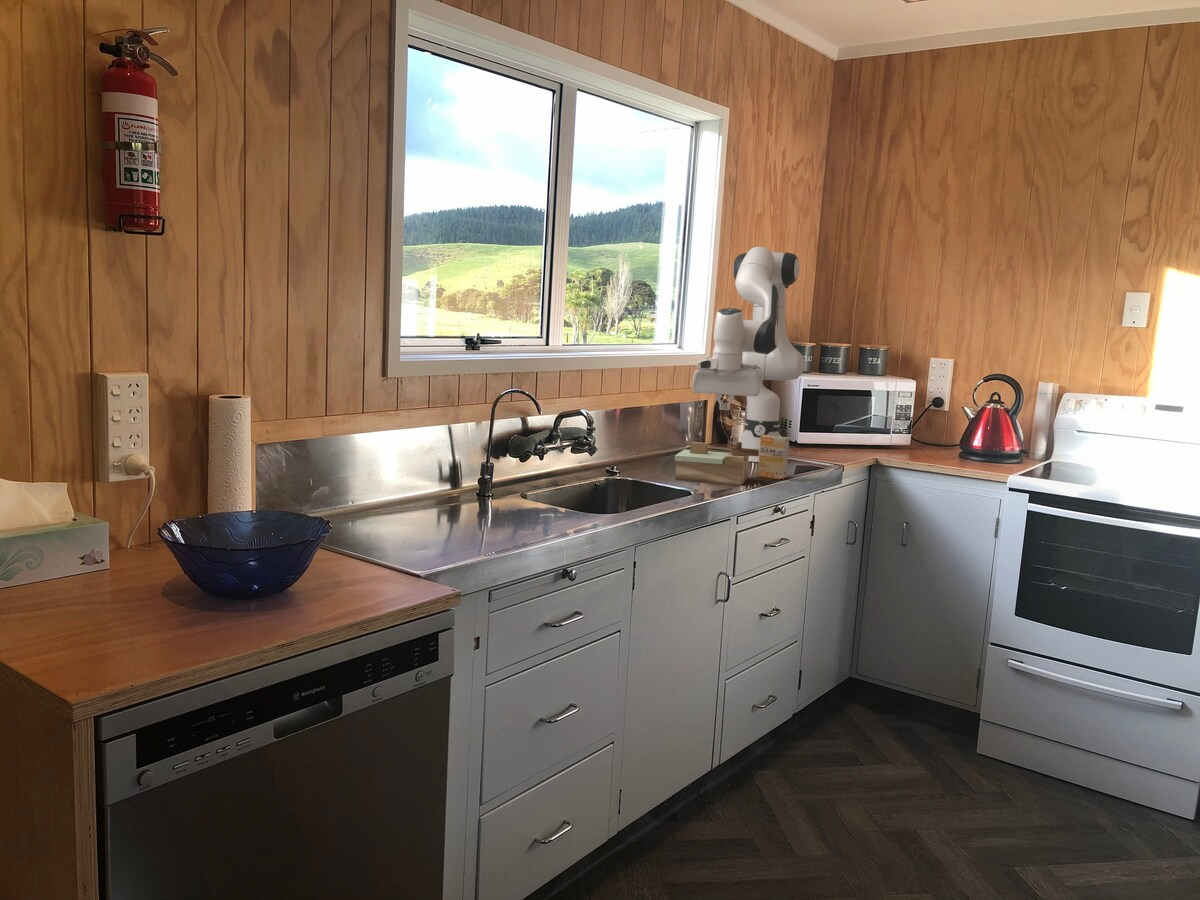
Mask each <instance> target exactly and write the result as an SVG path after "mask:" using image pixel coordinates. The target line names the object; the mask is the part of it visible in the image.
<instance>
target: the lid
mask: <svg viewBox="0 0 1200 900" xmlns="http://www.w3.org/2000/svg"><path fill="white" fill-rule="evenodd" d="M689 448H690V449H682V450H681V451H680V452H678V453H677V454H675V455H674V461H675V462H676V461H687V462H700V463H712V464H723V463H724V462H725V456H726V455H728V454H729V453H730V452H722V451H709V442H702V441H691V442H690V444H689Z"/></svg>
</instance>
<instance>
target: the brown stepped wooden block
mask: <svg viewBox="0 0 1200 900" xmlns="http://www.w3.org/2000/svg"><path fill="white" fill-rule="evenodd" d="M730 449H731V450H730V452H731V454H733V455H746V456H759V449H747V448H742V442H739V441H736V442H735V447H731V448H730Z"/></svg>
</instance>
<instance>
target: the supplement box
mask: <svg viewBox="0 0 1200 900" xmlns="http://www.w3.org/2000/svg"><path fill="white" fill-rule="evenodd" d="M789 447H790V437H785V436H781V437H779V436H770V435H762V436H761V438H760V451H759V462H758V467H757V477H758V478H764V479H773V480H780V479H783V480H785V479H786V478H787V474H788V471H787V470H788V464H789V463H788V462H789V449H790V448H789ZM784 478H785V479H784Z"/></svg>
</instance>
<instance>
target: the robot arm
mask: <svg viewBox="0 0 1200 900" xmlns="http://www.w3.org/2000/svg"><path fill="white" fill-rule="evenodd" d="M800 269H801V264H800V261H799V258H798V256H797V255H796V254H795V253H792V252H782V251H780V252H779V251H771V250H770V249H769V248H766V247H764V246H755V247H752V248H750V249H749V250H748V251H747V252H743V253H740V254H738V256H736V257H735V258H734V262H733V265H732V273H733V278H734V280H735V284H734V285H735V290H736V292H737V293H738V295H739V296H740V297H741V298H742V299H743V300H745V301H746V302H749V303H751V304H753V307H752V320H750V319H749V320H748V319H744V313H743V310H741V309H740V308H734V307H728V308H727V307H726V308H721V309H719V310H717V312H716V316H715V320H714V327H713V329H714V330H713V345H714V347H713V350H712V357H707V358H706V359H705V358H704V359H701V360H699V361H697V362H696V368H697V369H696V370H695V371H694V373H693V375H692V376H693V377H692V381H691V390H692V392H693V393H694V394H706V395H708V394H709V395H716V396H715V397H716V400H717V402H718V404H719V410H722V411H723V410H724V411H730V410H731V404H732V402H733V401H734V399H735V396H739V397H740V396H741V397H742V396H743V397H746V418H745V420H744V429H745V430H744V431H743V432H741V434H739V441H738V442H742V448H747V449H759V451H760V438H761V436H762V435H770V436H779V437H782V435H781V434H780V433H779V431H780V428H781V427H780V426H781V424H780V423H781V422H780V421H781V420H779V419H780V408H781V407H780V405H781V401H780V397H779V396H778V395H777V393H776V392H774V391H772V390H770V388H769V389H768V388H767V387H765V386H764V384H763V383H764V381H784V382H785V381H792V380H797V379H798V378H800V377H801V375H802V374H803V372H804V369H805V359H804V356H803V355H802V353H801V352H800V351H799V350H797V348H795V347H794V346H793V344H792V343H791V341H790V340H789V337H788V334H787V328H786V313H787V312H786V310H787V292H786V291H787V289H789V287H790V286H791V285H794V283H795V282H796V281H797V280H798V277H799V275H800ZM723 395H725V396H728V399H729V400H728V402H727V403H724V402H723V401H722V399H721V398H723ZM748 462H753V463H759V456H749V460H748Z"/></svg>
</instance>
